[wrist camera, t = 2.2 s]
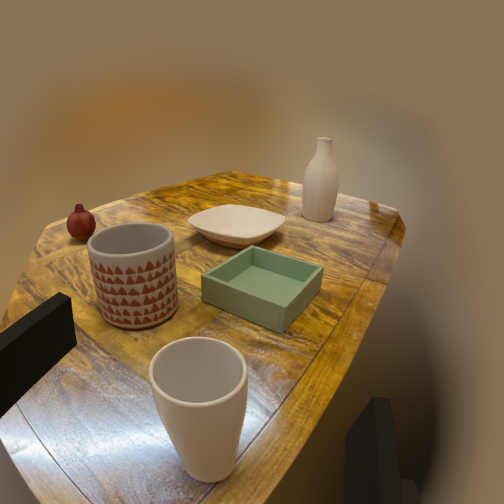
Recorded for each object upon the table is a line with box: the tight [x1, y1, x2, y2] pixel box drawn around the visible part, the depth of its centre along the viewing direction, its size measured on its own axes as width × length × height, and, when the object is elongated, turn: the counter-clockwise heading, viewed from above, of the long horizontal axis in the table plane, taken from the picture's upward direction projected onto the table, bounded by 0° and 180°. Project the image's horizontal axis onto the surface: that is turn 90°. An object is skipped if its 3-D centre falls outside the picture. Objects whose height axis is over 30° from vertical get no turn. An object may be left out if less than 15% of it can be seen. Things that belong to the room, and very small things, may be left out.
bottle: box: [302, 137, 338, 222], centre depth 92 cm, size 11×11×25 cm
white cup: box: [149, 337, 248, 483], centre depth 22 cm, size 7×7×15 cm
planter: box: [87, 222, 178, 330], centre depth 47 cm, size 14×14×13 cm
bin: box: [201, 245, 324, 334], centre depth 54 cm, size 16×16×5 cm
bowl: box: [187, 204, 286, 249], centre depth 78 cm, size 22×22×5 cm
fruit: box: [67, 204, 96, 240], centre depth 72 cm, size 8×8×10 cm
